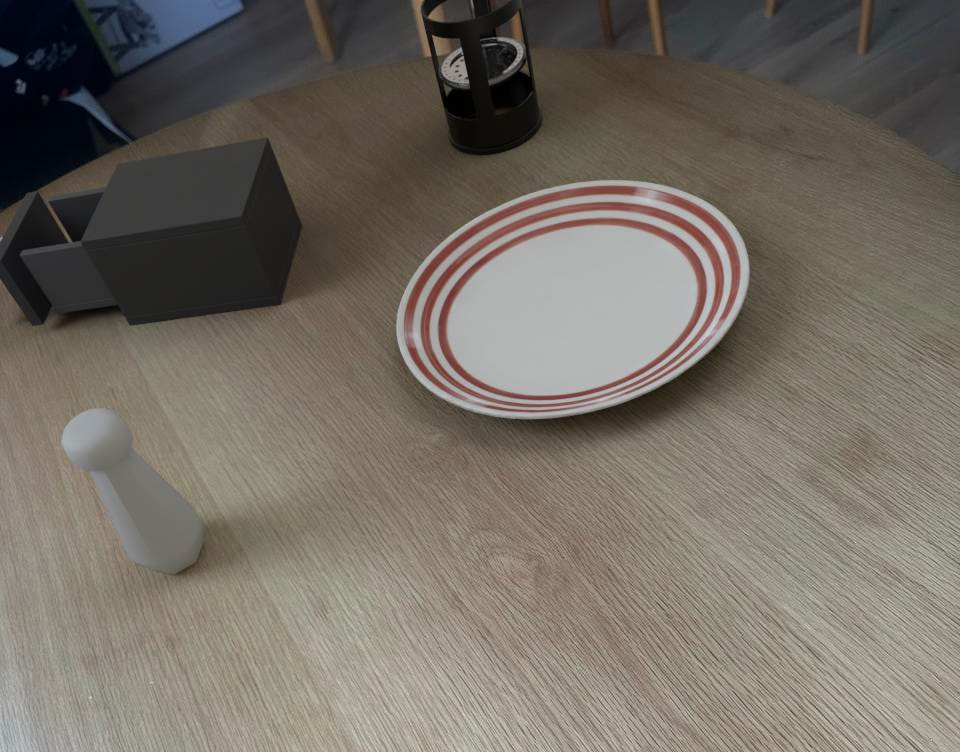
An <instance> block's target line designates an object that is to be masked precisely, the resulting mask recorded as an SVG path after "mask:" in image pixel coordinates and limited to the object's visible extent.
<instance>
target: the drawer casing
mask: <svg viewBox="0 0 960 752" xmlns="http://www.w3.org/2000/svg"><path fill="white" fill-rule="evenodd" d="M105 187H106V189H105V191H104V193H103V195H102V197H101V199H100V201H99V204H98V206H97V208H96V210H95V212H94V214H93V216H92V218H91V220H90V223H89V225H88V227H87V229H86V231H85V233H84V235H83V237H82V240H81V244H82V245H83V247H84V249H85V250H86V252H87V254H88V255H89V257H90V259H91V260H92V262H93V264H94V266H95V267H96V269H97V271H98V272H99V274H100V276H101V277H102V279H103V281H104V282H105V284H106V286H107V287H108V289H109V291H110V292H111V294H112V296H113V297H114V299H115V301H116V303H117V304H118V305H117V307H118V308H119V309H120V311H121V312H122V314H123V316H124V318H125V320H126V322H127V323H128V324H129V326H133V325H142V324H149V323H155V322H164V321H171V320H177V319H184V318H192V317H199V316H206V315H214V314H221V313H229V312H234V311H243V310H249V309H257V308H263V307H264V308H265V307H270V306H278V305H281V304H282V300H283V297H284V293H285V290H286V289H285V288H286V286H287V282H288V278H289V275H290V270H291V268H292V264H293V260H294V257H295V252H296V250H297V245H298V241H299V238H300V234H301V230H302V227H303V224H302V220H301V218H300V216H299V214H298V210H297V208H296V206H295V203H294V201H293V198H292V195H291V193H290V190H289V188H288V185H287V182H286V180H285V177H284V175H283V173H282V170H281V168H280V165H279V162H278V160H277V157H276V154H275V152H274V149H273V147H272V145H271V141H270V140H269V137H261V138H256V139H251V140H244V141H240V142H239V141H238V142H233V143H227V144H223V145H216V146H211V147H205V148H199V149H194V150H187V151H182V152H176V153H171V154H165V155H159V156H153V157H148V158H143V159H137V160H131V161H126V162H125V161H124V162H119V163H117V164H116V165H115V167H114V170H113V172H112V174H111V176H110V178H109V180H108V182H107V184H106V186H105Z"/></svg>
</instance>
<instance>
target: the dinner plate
mask: <svg viewBox="0 0 960 752" xmlns="http://www.w3.org/2000/svg"><path fill="white" fill-rule="evenodd" d="M750 269H751V267H750V259H749V255H748V249H747V248H746V244H745V242H744V240H743V237H742V235H741V234H740V232H739V230H738V229H737V228H736V226H735V225H734V223H733V222H732V221H731V220H730V219H729V218H728V217H727V216H726V215H725V214H724V213H723V212H722V211H721V210H719V209H718V208H717V207H715V206H714V205H712V204H710V203H709V202H708V201H706V200H704V199H702V198H700V197H698V196H696V195H693V194H691V193H689V192H686V191H683V190H681V189H678V188H675V187H672V186H669V185H665V184H659V183H654V182H647V181H640V180H627V179H624V180H623V179H620V180H618V179H601V180H589V181H580V182H573V183H567V184H563V185H562V184H561V185H557V186H552V187H549V188H544V189H539V190H537V191H534V192H531V193H528V194H525V195H522V196H519V197H516V198H514V199H511V200H510V201H507V202H504V203H502V204H500V205H498V206H496V207H494V208H491V209H490V210H487V211H485V212H484V213H482V214H480V215H479V216H477V217H475V218H473V219H472V220H470V221H468V222H467V223H465V224H463V226H461V227H460V228H458V229H457V230H455V231H454V232H453V233H452V234H450V235H449V236H447V237H446V238H445V239H444V240H443V241H442V242H441V243H439V244H438V246H436V247H435V248H434V249H433V250H432V252H430V254H429V255H427V256H426V258H425V259H424V260H423V262H422V263H421V264H420V265H419V267H418V268H417V269H416V271H415V272H414V274H413V275H412V277H411V278H410V280H409V282H408V283H407V286H406V288H405V290H404V292H403V294H402V297H401V300H400V302H399V306H398V310H397V314H396V322H395V323H396V325H395V326H396V327H395V329H396V339H397V344H398V348H399V351H400V354H401V356H402V359H403V360H404V363H405V365H406V366H407V368H408V369H409V371H410V373H411V374H412V375H413V376H414V377H415V378H416V380H418V382H419V383H420V384H421V385H422V386H424V387H425V388H426V389H427V390H429V391H430V392H431V393H433V394H434V395H436V396H437V397H438V398H440V399H442V400H444V401H446V402H448V403H449V404H452V405H454V406H456V407H458V408H461V409H462V410H463V409H464V410H466V411H469V412H473V413H476V414H479V415H484V416H489V417H494V418H502V419H503V418H504V419H510V420H511V419H512V420H516V419H518V420H542V419H543V420H545V419H547V420H548V419H557V418H558V419H559V418H567V417H572V416H578V415H583V414H588V413H592V412H596V411H597V412H598V411H600V410H603V409H604V410H605V409H607V408H611V407H614V406H615V407H616V406H618V405H620V404H623V403H626V402H629V401H632V400H634V399H636V398H639V397H641V396H642V395H646V394H648V393H650V392H653V391H655V390H657V389H658V388H660V387H661V386H663V385H665V384H667V383H669V382H671V381H672V380H674V379H676V378H677V377H679V376H680V375H682V374H683V373H684V372H686V371H688V370H689V369H690V368H692V367H693V366H695V365H696V364H697V363H698V362H699V361H701V360H702V359H703V358H705V356H706V355H708V354H709V353H710V352H711V351H712V350H713V349H714V348H715V347H716V346H717V345H718V344H719V343H720V342H721V341H722V339H723V338H724V337H725V336H726V335H727V333H728V331H729V330H730V329H731V327H732V326H733V325H734V323H735V321H736V319H737V318H738V316H739V314H740V312H741V310H742V308H743V305H744V303H745V300H746V297H747V294H748V290H749V285H750V275H751V274H750V273H751V272H750V271H751V270H750Z"/></svg>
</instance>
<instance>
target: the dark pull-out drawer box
mask: <svg viewBox="0 0 960 752" xmlns="http://www.w3.org/2000/svg"><path fill="white" fill-rule="evenodd" d="M106 187H107V186H103V187H97V188H91V189H86V190H80V191H74V192H67V193H62V194H56V195H51V196H49V198H48V200H47V202H48V204H49V205H50V208H51V209H52V212H54V214H55V216H56V218H57V219H58V220H59V222H60V224H61V226H62V227H63V229H64V231H65V232H66V234H67V235H68V237H69V239H70V242H69V240H68V238H67V237H66V235H65V234H64V232H63V230H62V229H61V227H60V225H59V224H58V222H57V220H56V218H55V216H54V215H53V213H52V212H51V210H50V208H49V207H48V205H47V204H46V203H45V201H44V199H43V197H42V196H41V194H40V192H39V191H37V190H36V191H32V192H26V193H25V196H24V197H23V199H22V201H21V203H20V205H19V206H18V208H17V210H16V212H15V214H14V216H13V218H12V219H11V221H10V223H9V225H8V227H7V228H6V231H5V232H4V234H3V236H1V237H0V283H2V284H3V286H5V288H6V290H7V291H8V293H9V294H10V295H11V297H12V299H13V300H14V301H15V303H16V304H17V306H18V308H19V309H20V310H21V312H22V313H23V314H24V316H25V318H26V319H27V320H28V322H29V323H30V325H31V326H32V327H35V326H43V325H44V324H45V322H46V320H47V318H48V316H49V314H50V312H51V309H52V308H53V309H54V310H55V312H56V313H57V314H65V313H71V312H72V313H73V312H79V311H86V310H93V309H100V308H106V307H114V306H118V304H117V303H116V301H115V299H114V297H113V296H112V294H111V292H110V291H109V289H108V287H107V286H106V284H105V282H104V281H103V279H102V277H101V276H100V274H99V272H98V271H97V269H96V267H95V266H94V264H93V262H92V260H91V259H90V257H89V255H88V254H87V252H86V250H85V249H84V247H83V245H82V244H81V240H82V237H83V235H84V233H85V231H86V229H87V227H88V225H89V223H90V220H91V218H92V216H93V214H94V212H95V210H96V208H97V206H98V204H99V201H100V199H101V197H102V195H103V193H104V191H105V189H106Z"/></svg>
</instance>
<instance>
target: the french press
mask: <svg viewBox="0 0 960 752" xmlns="http://www.w3.org/2000/svg"><path fill="white" fill-rule="evenodd" d="M447 1H448V0H423V1H422V2H421V5H420V14H421V18H422V22H423V28H424V31H425V35H426V40H427V44H428V48H429V52H430V56H431V61H432V65H433V69H434V72H435V79H436V82H437V86H438V90H439V94H440V98H441V103H442V107H443V112H444V115H445V119H446V124H447V128H448V129H447V137H448V140H449V143H450V145H451V146H452V147H453V148H454V149H455V150H457V151H459V152H461V153H464V154H467V155H476V156H477V155H481V156H482V155H492V154H498V153H502V152H504V151H508V150H511V149H513V148H516V147H517V146H520V145H522V144H523V143H525V142H527V141H528V140H529V139H530V138H532V137H533V136H534V135H535V134H536V133H537V132H538V131H539V130H540V128H541V126H542V123H543V117H544V116H543V110H542V108H541V106H540V105H539V100H538V94H537V88H536V87H537V86H536V81H535V76H534V70H533V63H532V57H531V50H530V45H529V38H528V33H527V26H526V20H525V14H524V6H523V1H522V0H508V1H507V2H506V3H504V4H503V5H502V6H500V7H498V8H497V9H494V10H493V7H492V3H491V0H467V3H468V8H469V12H470V16H471V17H470V19H466V20H460V21H439V20H435V19H432V18H430V15H431V13H432V12H433V11H435V9H437V8H438V7H440V5H442V4H443V3H445V2H447ZM517 13H518V14H519V19H520V25H521V33H522V37H523V38H522V39H523V42H522V41H520V40H517V39H515V38H511V37H504V36H499V37H498V35H497V30H496V29H497V28H499V27H501V26H503V25H505V24H507V22H509V21H510V20H512V19H513V18H514V17H515V16H516V15H517ZM433 36H434V37H436V38H439V39H449V40H453V39H456V40H457V39H459V42H460V47H458V48H456V49H454V50H453V51H451V52H450V53H448V55H446V56H445V57H444V58H443V59H442V61H441V62H440V63H439V59H438V54H437V50H436V46H435V42H434V37H433ZM526 63H527V68H528V72H526V71H524V70H522V69H523V68H524V66H525V65H526ZM445 86H446V87H448V88H450V90H449V91H448V92H446V89H445ZM498 106H515V107H513V108H512V109H509V110H506V111H505V112H502V113H500V114H497V115H496V113H495V107H498ZM473 115H475V117H476V118H471V117H472V116H473Z"/></svg>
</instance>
